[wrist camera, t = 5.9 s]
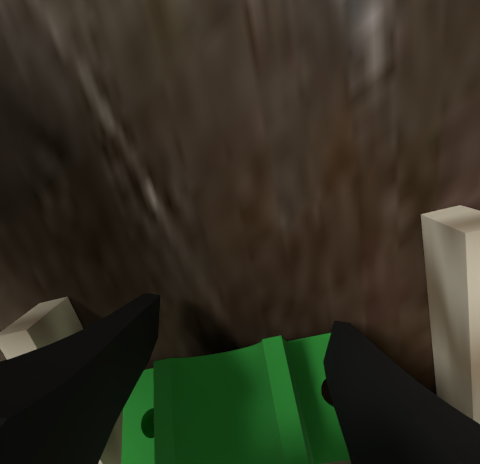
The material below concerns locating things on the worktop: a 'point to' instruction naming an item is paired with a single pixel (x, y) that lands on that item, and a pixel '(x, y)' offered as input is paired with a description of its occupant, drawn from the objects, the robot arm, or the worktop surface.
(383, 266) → the worktop surface
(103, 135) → the worktop surface
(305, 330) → the worktop surface
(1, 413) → the robot arm
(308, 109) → the worktop surface
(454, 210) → the frame
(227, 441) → the pipe clamp
